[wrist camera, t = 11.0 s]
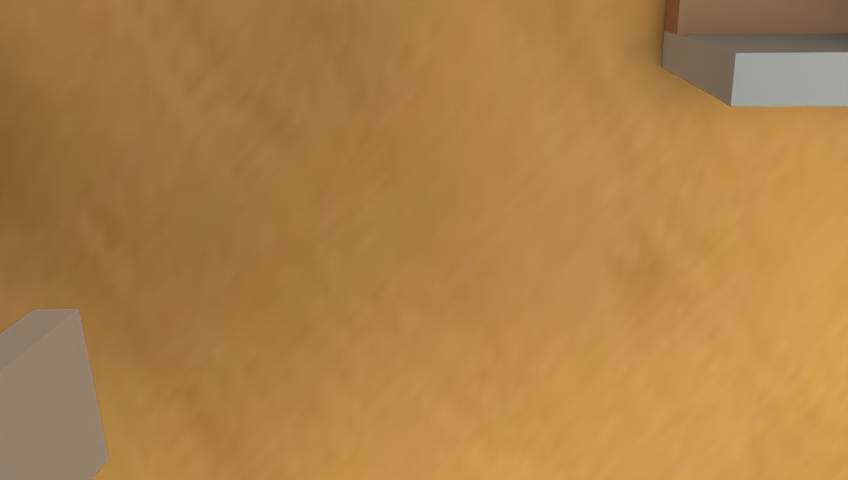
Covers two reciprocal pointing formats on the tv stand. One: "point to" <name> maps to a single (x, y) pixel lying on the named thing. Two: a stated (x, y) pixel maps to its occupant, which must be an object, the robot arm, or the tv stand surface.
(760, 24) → the board
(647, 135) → the tv stand surface
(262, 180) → the tv stand surface
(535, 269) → the tv stand surface
